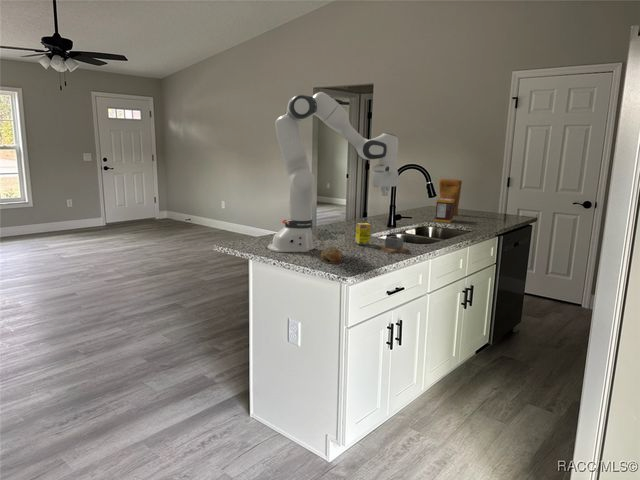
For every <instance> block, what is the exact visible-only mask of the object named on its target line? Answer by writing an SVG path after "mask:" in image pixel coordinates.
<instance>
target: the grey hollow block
mask: <svg viewBox="0 0 640 480" xmlns="http://www.w3.org/2000/svg"><path fill="white" fill-rule="evenodd" d="M384 240H385V241H384V246H385V248H389V249H395V250H397V249H400V248H403V247H404V237H400V236H393V235H391V236H388V237H387V236H386V237H385V239H384Z"/></svg>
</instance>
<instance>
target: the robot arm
mask: <svg viewBox="0 0 640 480" xmlns="http://www.w3.org/2000/svg"><path fill="white" fill-rule="evenodd" d="M311 116H315V117H317V118H318V119H319V120H320V121H322V123H324V124H325V125H326V127H327V126H328V127H329V128H330V129H332V130H333V131H335V132H337V134H340V135H341V136H342V137H343V138H344V139H346V141H347V142H348V143H350V145H351V146H352V147H353V148H354V150H355V153H356V154H357V156H358V157H359V159H362V160H364V161H368V160H370V161H373V160H377V159H378V163H376V164H375V165H374V166H373V167H372V170H373V173H372V183H371V185H372V187H375V188H380V191H381V196H382V197H387V196H388V195H389V191H390V189H391V187H397V186H398V185H399V178H400V177H399V171H398V169H397V166H398V165H397V164H398V159H397V158H398V154H399V139H398V137H397V136H396V135H395V134H393V133H388V132H383V133H382V134H380V135H379V136H376V137H374V138H371V139H368V138H365V137H363V136H362V135H361V134H360V133H359V132H358V131H357V130H356V129H355V128H354V127H353V126H352V125H351V122H350V118H349V114H348V112H347V111H346V109H344V107H343V106H342V105H341V104H340V103H339V102H337V100H335V99H334V98H333V97H332V96H330V95H329V94H327V93H326V92H323V91H318V92H316V93H315V94H313V95H312V96H309V95H304V94H297V95H295V96H293V97H291V98H290V99H289V100H288V103H287V105H286V108H285V113H284V114H283V115H280V116H279V117H278V118H277V119H276V120H275V123H274V125H275V126H274V127H275V134H276V139H277V142H278V145H279V148H280V151H281V156H282V159H283V162H284V163H283V164H284V167H285V170H286V172H287V173H286V174H287V176H288V177H287V178H288V181H289V183H290V190H289V202H288V203H289V205H288V206H289V207H288V219H285V218H284V219H282V220H281V223H282V224H283V225H284V227H283V228H281V229H280V230H278V232H276V233H275V234H274V235H273V239H272V243H269V244H268V245H267V248H268V249H269V250H270V251H272V252H277V253H300V252H302V253H306V252H310V250H313V249H315V246H314V241H313V233H312V232H313V226H314V225H313V224H314V223H313V219H312V215H313V198H314V192H315V176H314V174H313V172H312V171H311V170H310V169H311V168H310V166H309V162H308V157H307V153H306V148H305V145H304V141H303V138H302V134H301V131H300V122H302V121H304V120H306V119H307V118H308V117H311Z"/></svg>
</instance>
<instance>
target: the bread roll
mask: <svg viewBox="0 0 640 480" xmlns="http://www.w3.org/2000/svg"><path fill="white" fill-rule="evenodd" d="M320 252H321V253H320V261H321V262H323V263H325V264H326V263H327V264H333V265H334V264H341V263H342V262H343V257H344V255H343V253H342V251H341V250H339V249H338V248H337V247H333V246H331V247H326V248H325V249H322V251H320Z"/></svg>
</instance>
